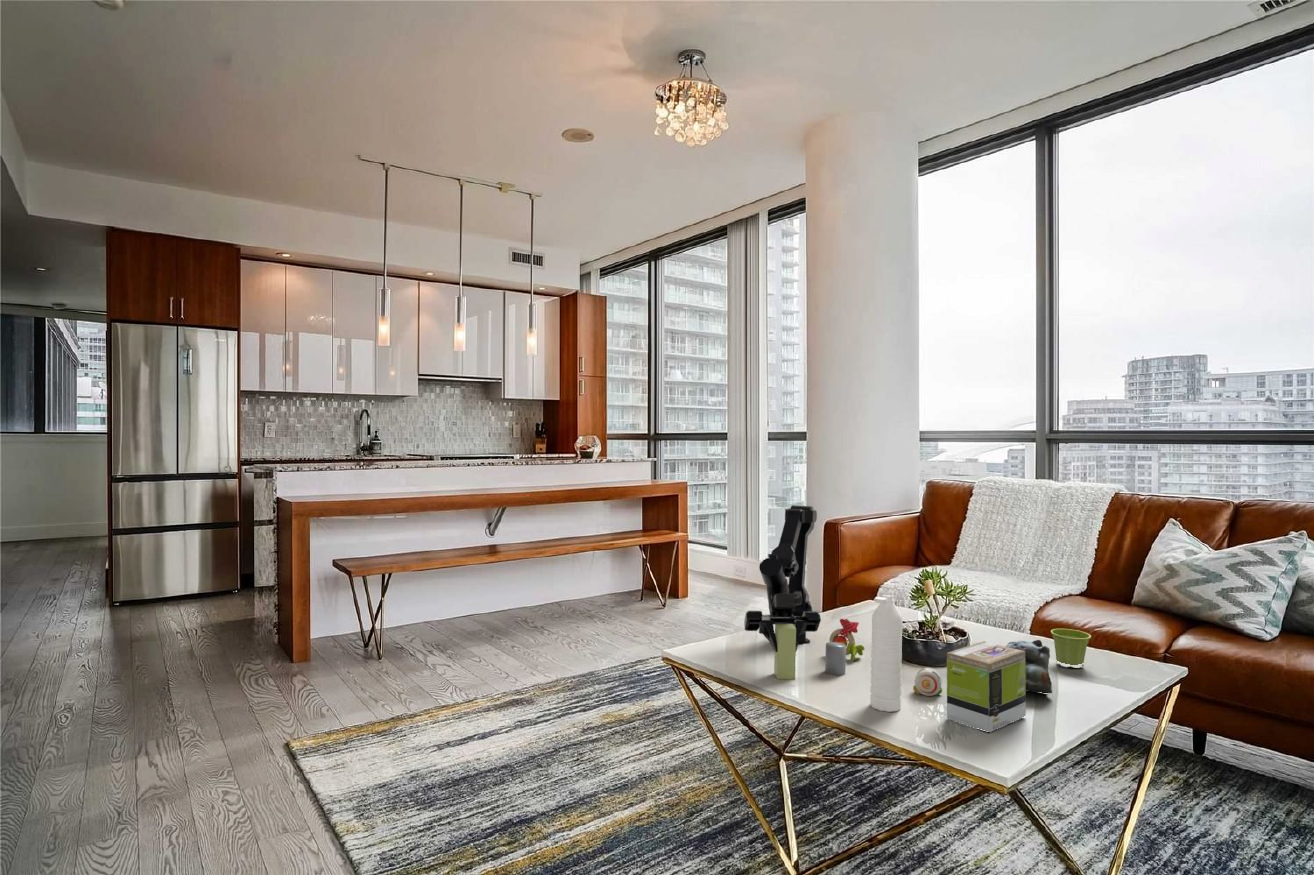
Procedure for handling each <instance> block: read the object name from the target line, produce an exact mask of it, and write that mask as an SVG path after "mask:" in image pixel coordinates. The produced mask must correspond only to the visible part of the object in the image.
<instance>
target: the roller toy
mask: <svg viewBox="0 0 1314 875" xmlns="http://www.w3.org/2000/svg"><path fill="white" fill-rule="evenodd" d="M942 683H943V680H942V677H941V674H940V673H939V672H938V671H937V670H936V669H934V668H933V667H931V668H930V667H924V668H921V669H919V670H918V672H917V673H916V675H915V678H914V685H912V686H913V688H912V690H913V691H914V693H915V694H917V695H920V694H921V695H923V696H926V697H932V696H933V697H934V696H937V695H940V694H942V692H943V688H942Z"/></svg>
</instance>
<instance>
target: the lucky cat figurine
mask: <svg viewBox="0 0 1314 875" xmlns="http://www.w3.org/2000/svg"><path fill="white" fill-rule="evenodd" d="M1004 646H1005V647H1009V648H1013V649H1018V650H1022V651H1025V670H1026V671H1025V674H1026V692H1033V693H1036V692H1042V693H1048V694H1053V687H1052V686H1053V683H1052V680H1051V678H1050V674H1049V663H1050V658H1051V654H1050V652H1051V649H1050V648H1049V646H1047V645H1043V642H1042V641H1041V639H1037V640H1036V639H1035V640H1033V641H1027V640H1016V641H1009V642H1008V643H1007V644H1006V645H1004Z"/></svg>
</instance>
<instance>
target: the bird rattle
mask: <svg viewBox="0 0 1314 875" xmlns="http://www.w3.org/2000/svg"><path fill="white" fill-rule="evenodd" d="M839 623H840V625H841V627H842V628H837V629H835V630H834V631H833V632H831V634H830V636H829V642H838V643H842V644H845V645H846V656H849V655H850V660H851V662H853V661H854V660H855V659H856V656H857V654H858V655H859V656H863V655H864V653H863V651H864V650H865V647H864V645H862V644H858V645H856V641H855V637H854V635H853V633H854V634H855V633H856V634H857V633H858V631H859V630H858V629H857V628H858V626H859V623H860V622H857V621H856V622H855V621H853V622H852V621H850V620H849V619H848V618H845V619H844V618H840V619H839ZM829 642H828V643H829Z"/></svg>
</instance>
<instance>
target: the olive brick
mask: <svg viewBox="0 0 1314 875" xmlns="http://www.w3.org/2000/svg"><path fill="white" fill-rule="evenodd" d="M774 633H775V637H776V641H777V649H778V650H777V652H775V651H774V655H773V656H774V660H773V662H774V665H773V670H774V671H773V674H774V673H775V674H774V676H775V675H776V676H775V677H777V678H776V679H777V680H796V656H797V651H796V628H795V627H794V625H793V624H775V625H774Z"/></svg>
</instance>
